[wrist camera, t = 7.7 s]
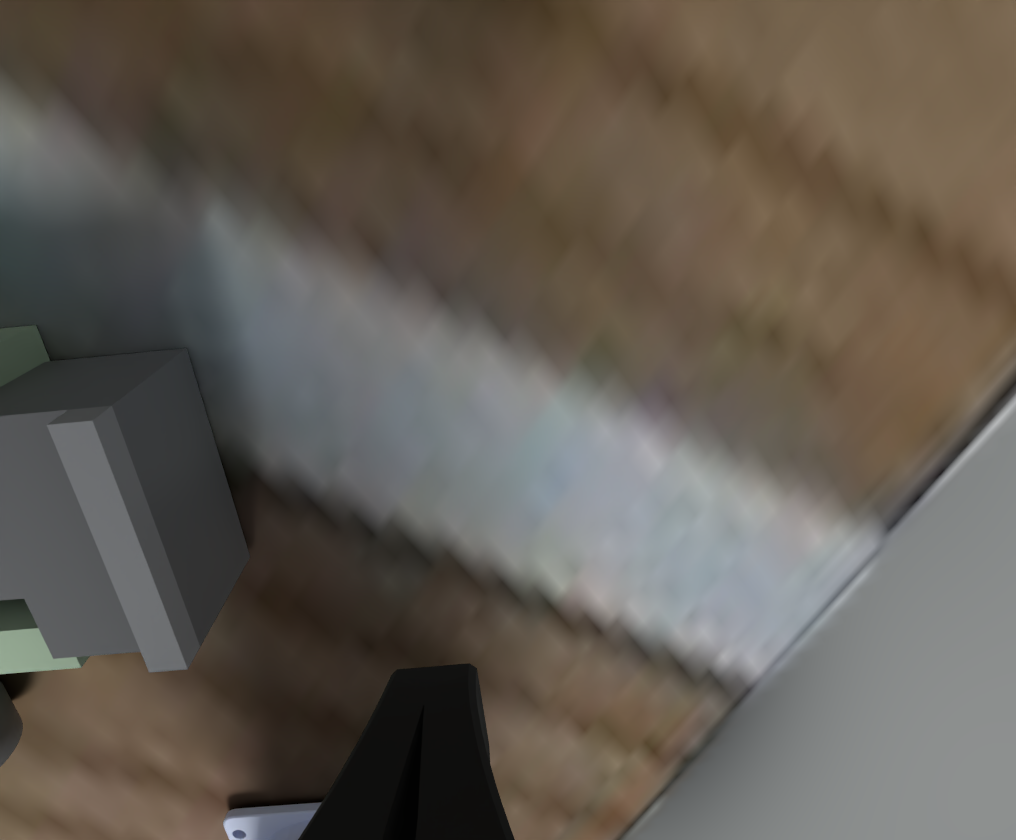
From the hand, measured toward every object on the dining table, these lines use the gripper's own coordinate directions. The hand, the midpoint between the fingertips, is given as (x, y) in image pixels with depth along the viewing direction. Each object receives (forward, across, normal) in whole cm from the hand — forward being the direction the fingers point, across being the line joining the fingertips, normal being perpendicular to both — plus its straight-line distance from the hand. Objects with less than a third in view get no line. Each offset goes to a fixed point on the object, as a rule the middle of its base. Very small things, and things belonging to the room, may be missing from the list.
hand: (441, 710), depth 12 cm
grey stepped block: (+10, +11, 0) cm, 15 cm away
